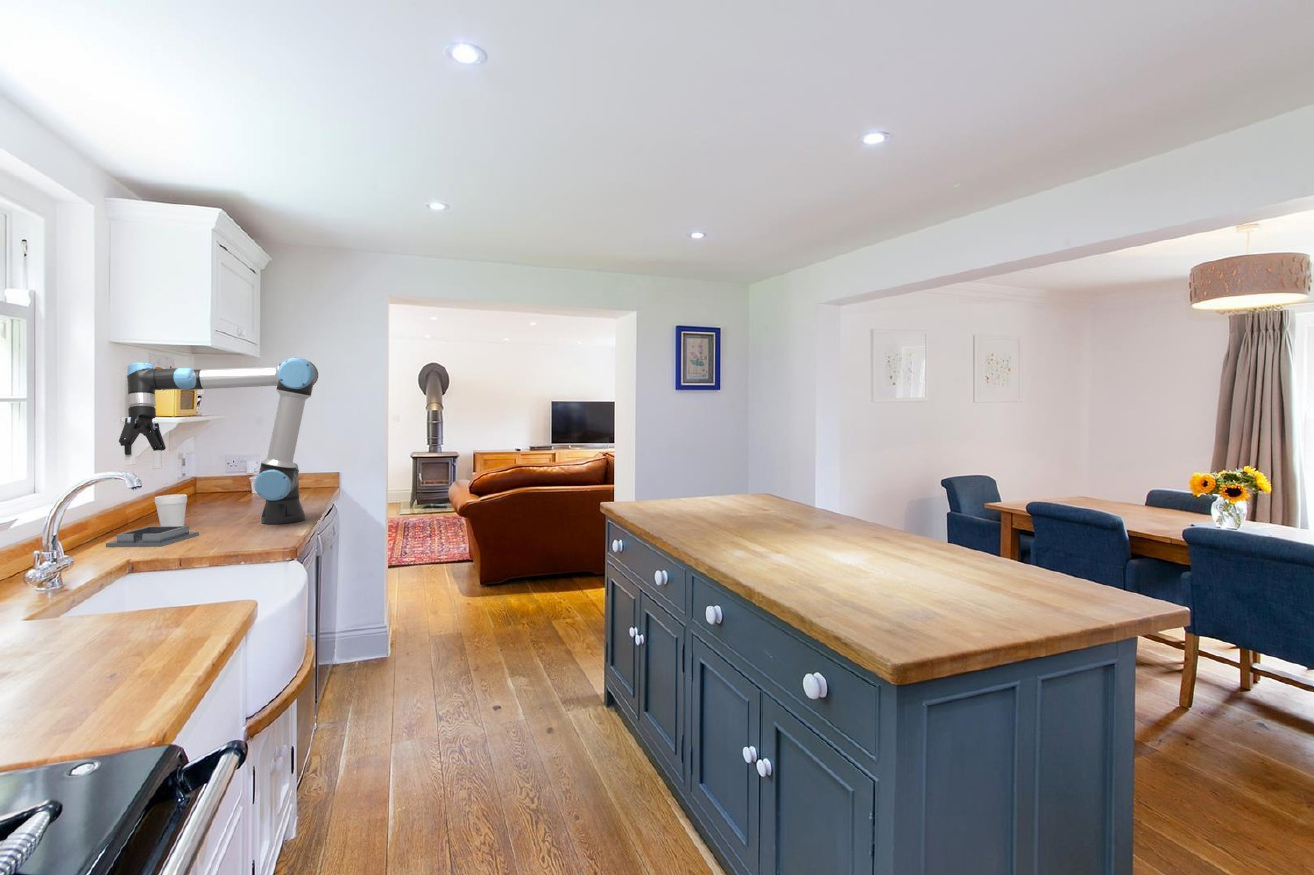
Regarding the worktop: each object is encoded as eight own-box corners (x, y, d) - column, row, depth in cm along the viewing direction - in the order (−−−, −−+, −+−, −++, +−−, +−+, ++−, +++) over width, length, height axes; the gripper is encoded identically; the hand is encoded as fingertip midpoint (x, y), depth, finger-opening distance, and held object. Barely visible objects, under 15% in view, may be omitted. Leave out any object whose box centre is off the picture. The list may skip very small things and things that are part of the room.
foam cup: (194, 529, 243) (192, 494, 242) (168, 534, 234) (166, 498, 233) (176, 528, 246) (174, 493, 245) (150, 532, 237) (148, 497, 236)
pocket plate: (147, 535, 232) (147, 525, 232) (198, 535, 232) (198, 524, 232) (105, 547, 214) (105, 535, 214) (161, 546, 214) (160, 535, 214)
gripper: (154, 414, 240) (156, 471, 238) (104, 401, 216) (105, 464, 213) (175, 412, 241) (178, 468, 238) (128, 398, 217) (130, 461, 214)
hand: (144, 466), depth 226 cm, fingers open, 13 cm apart
